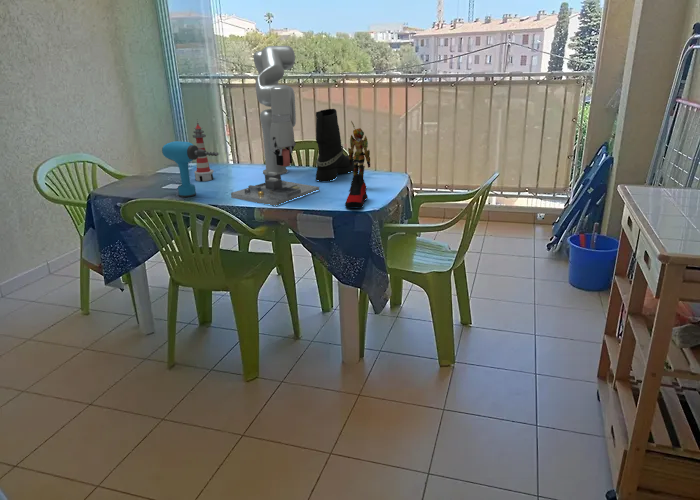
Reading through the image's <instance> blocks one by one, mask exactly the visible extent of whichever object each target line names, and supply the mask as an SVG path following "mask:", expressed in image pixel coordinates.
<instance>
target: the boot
mask: <svg viewBox="0 0 700 500" xmlns="http://www.w3.org/2000/svg"><path fill="white" fill-rule="evenodd" d="M337 112H338V111H337V109H336V108H326V109H322V110H319V111H316V112H315V141H316V144H317V147H318V155H317V159H316V160H315V164H316V168H317V169H316V173H315V181H316V180H319V181H330V180H333V179H335V178H336V177H337V178H338V174H339V175H344V174H343V173H348V172H351V171H354V161H352V166H351V165H350V160H349V155H345V154H344V146H343V145H342V138H341V133H340V125H339V121H338V120H339V119H338V113H337Z"/></svg>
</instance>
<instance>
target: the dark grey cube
mask: <svg viewBox="0 0 700 500" xmlns="http://www.w3.org/2000/svg"><path fill="white" fill-rule="evenodd" d="M268 173H269V174H264V182H265V181H266V180H269V178H277V179H280V180H282V176H281V175H282V174H278V173H274V172H268Z"/></svg>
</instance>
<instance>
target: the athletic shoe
mask: <svg viewBox="0 0 700 500" xmlns="http://www.w3.org/2000/svg"><path fill="white" fill-rule="evenodd" d="M366 187H367V185H366V182H365V179H364V177H363V178H362V175H361V174H359V173H358V174H357V175H354V177H352V179H351V182H350V188H349V190H348V195H347V198H346V199H345V200H346V202H345V203H344V206H347V207H346V208H348V207H362V206H363V204H364V205H365V203H364V202H365V201H364V200H365V199H366V198H367V199H368V193H367V189H366ZM362 208H363V207H362Z"/></svg>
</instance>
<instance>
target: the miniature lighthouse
mask: <svg viewBox="0 0 700 500" xmlns="http://www.w3.org/2000/svg"><path fill="white" fill-rule="evenodd" d="M202 129H203V127H202V126H200V125H199V121H198V120H196V126H195V127H193V134H192V138H193V139H196V140H195V141H196V143H195V144H196V145H195V146H197V147H198V149H202V150H206V147H205V142H204V138H206V135H207V134H205V131H204V130H202ZM203 133H204V134H203ZM214 171H215V170H214V169H211V167H210V163H209V159H208V155H206V156H204V157H198V158H197V159H196V170H194V178H195V181H197V182H208V181H213V180H214V175H213V174H214Z"/></svg>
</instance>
